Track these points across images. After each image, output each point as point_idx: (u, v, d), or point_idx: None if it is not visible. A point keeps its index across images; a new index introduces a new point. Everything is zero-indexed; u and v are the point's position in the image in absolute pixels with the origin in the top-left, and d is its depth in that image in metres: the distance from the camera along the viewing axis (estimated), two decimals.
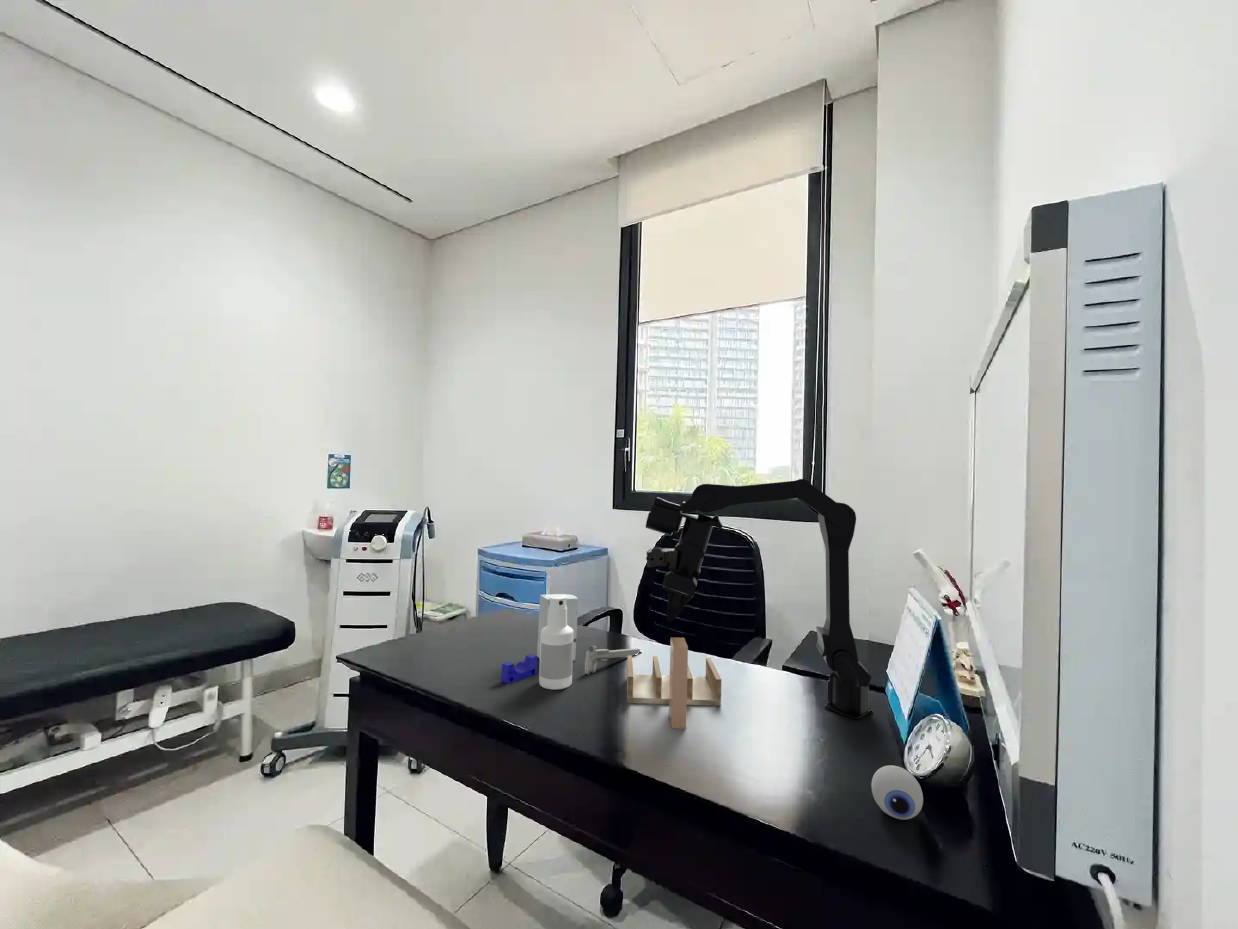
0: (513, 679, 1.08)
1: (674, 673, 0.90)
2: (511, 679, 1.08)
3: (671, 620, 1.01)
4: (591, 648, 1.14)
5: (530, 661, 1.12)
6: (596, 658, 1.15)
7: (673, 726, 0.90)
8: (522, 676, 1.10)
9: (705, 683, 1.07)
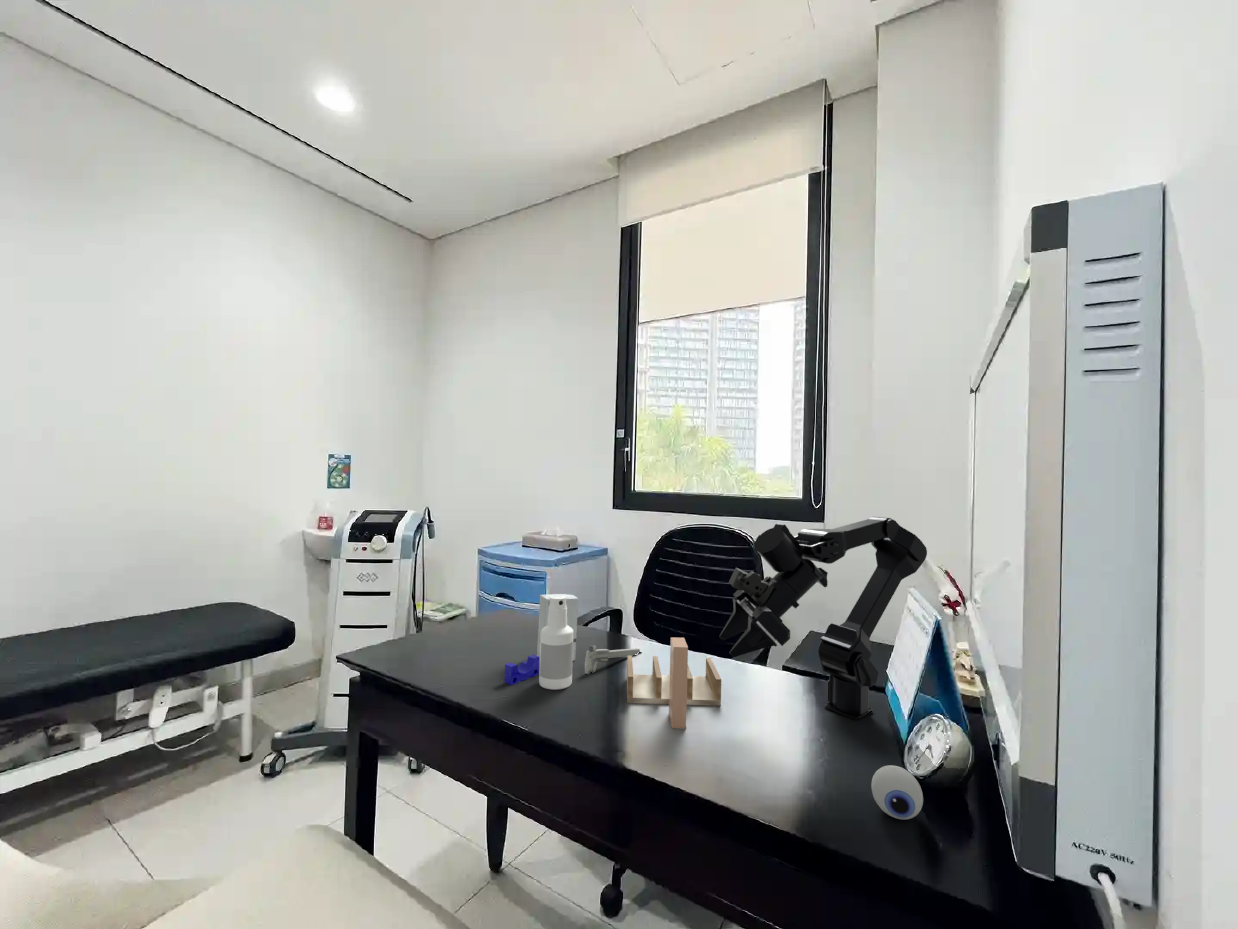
0: (516, 680, 1.08)
1: (674, 673, 0.90)
2: (514, 680, 1.08)
3: (734, 655, 0.88)
4: (591, 648, 1.14)
5: (533, 661, 1.12)
6: (596, 658, 1.15)
7: (673, 726, 0.90)
8: (525, 677, 1.10)
9: (705, 683, 1.07)
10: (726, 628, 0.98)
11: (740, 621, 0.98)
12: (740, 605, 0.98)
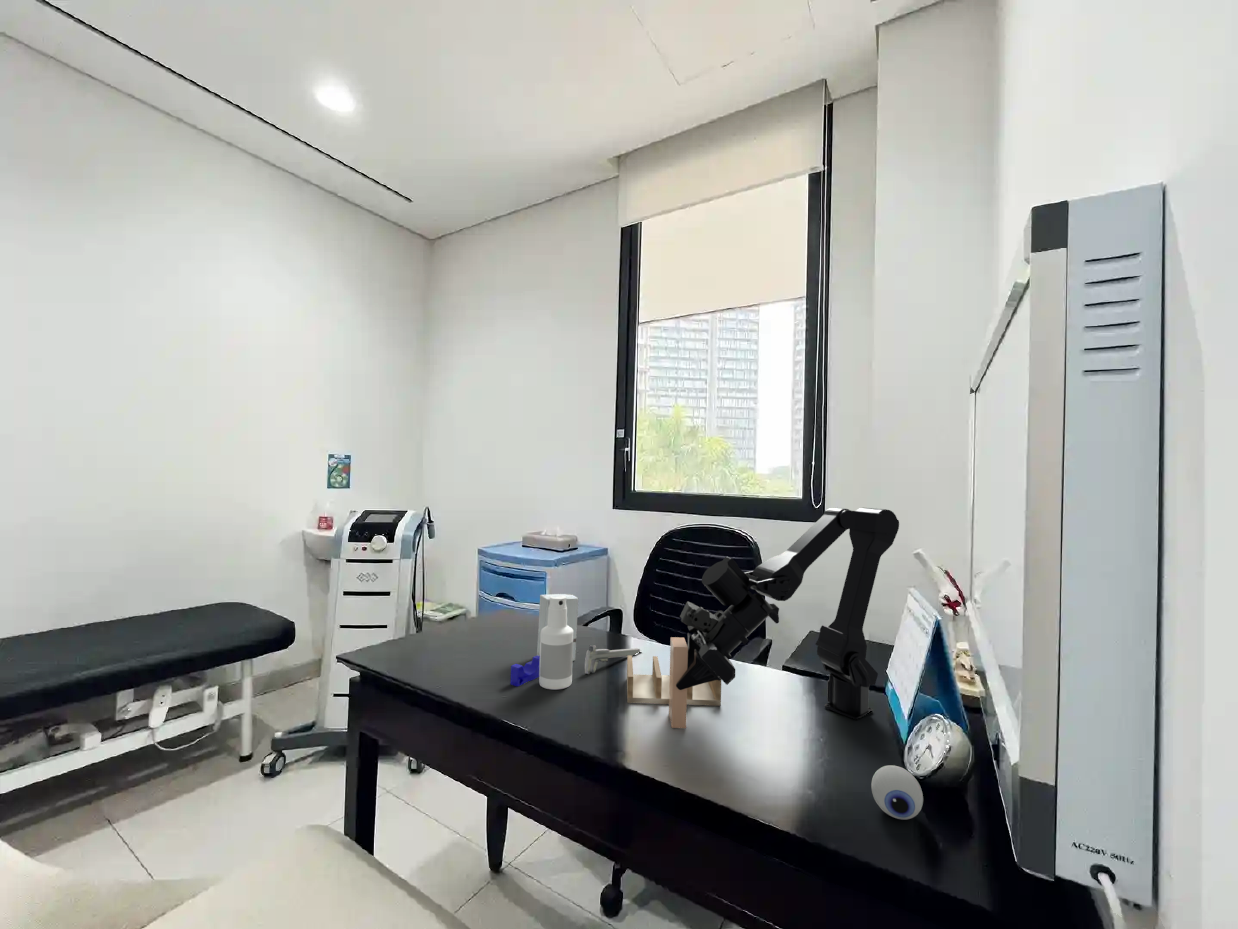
0: (522, 681, 1.07)
1: (674, 673, 0.90)
2: (520, 681, 1.07)
3: (680, 688, 0.90)
4: (591, 648, 1.14)
5: (538, 662, 1.11)
6: (596, 658, 1.15)
7: (673, 726, 0.90)
8: (530, 678, 1.09)
9: (705, 683, 1.07)
10: None
11: (694, 657, 0.96)
12: (694, 641, 0.97)
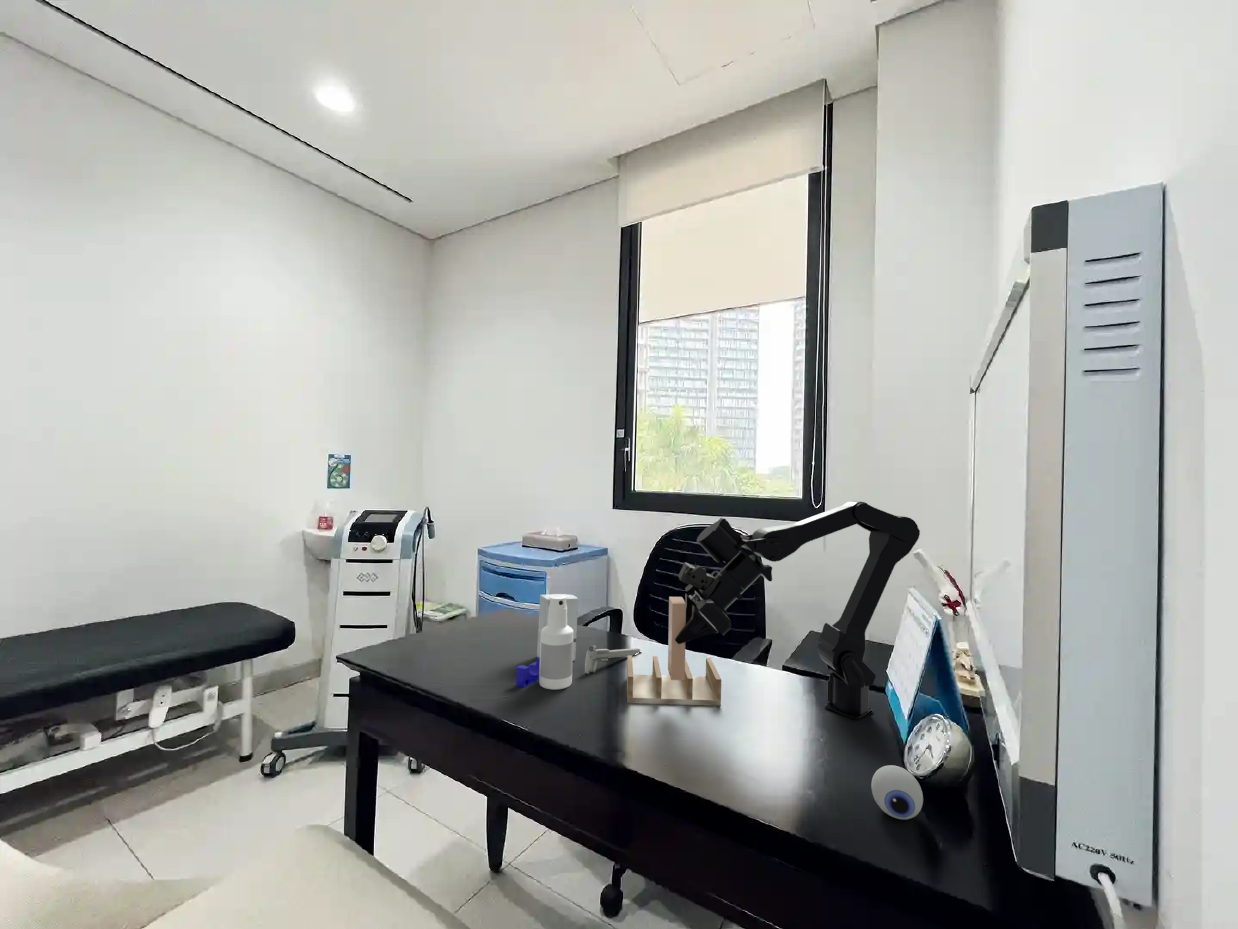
0: (528, 682, 1.07)
1: (673, 628, 0.95)
2: (526, 682, 1.07)
3: (679, 642, 0.95)
4: (591, 648, 1.14)
5: None
6: (596, 658, 1.15)
7: (672, 678, 0.95)
8: (536, 679, 1.09)
9: (705, 683, 1.07)
10: None
11: (691, 616, 1.01)
12: (691, 600, 1.02)
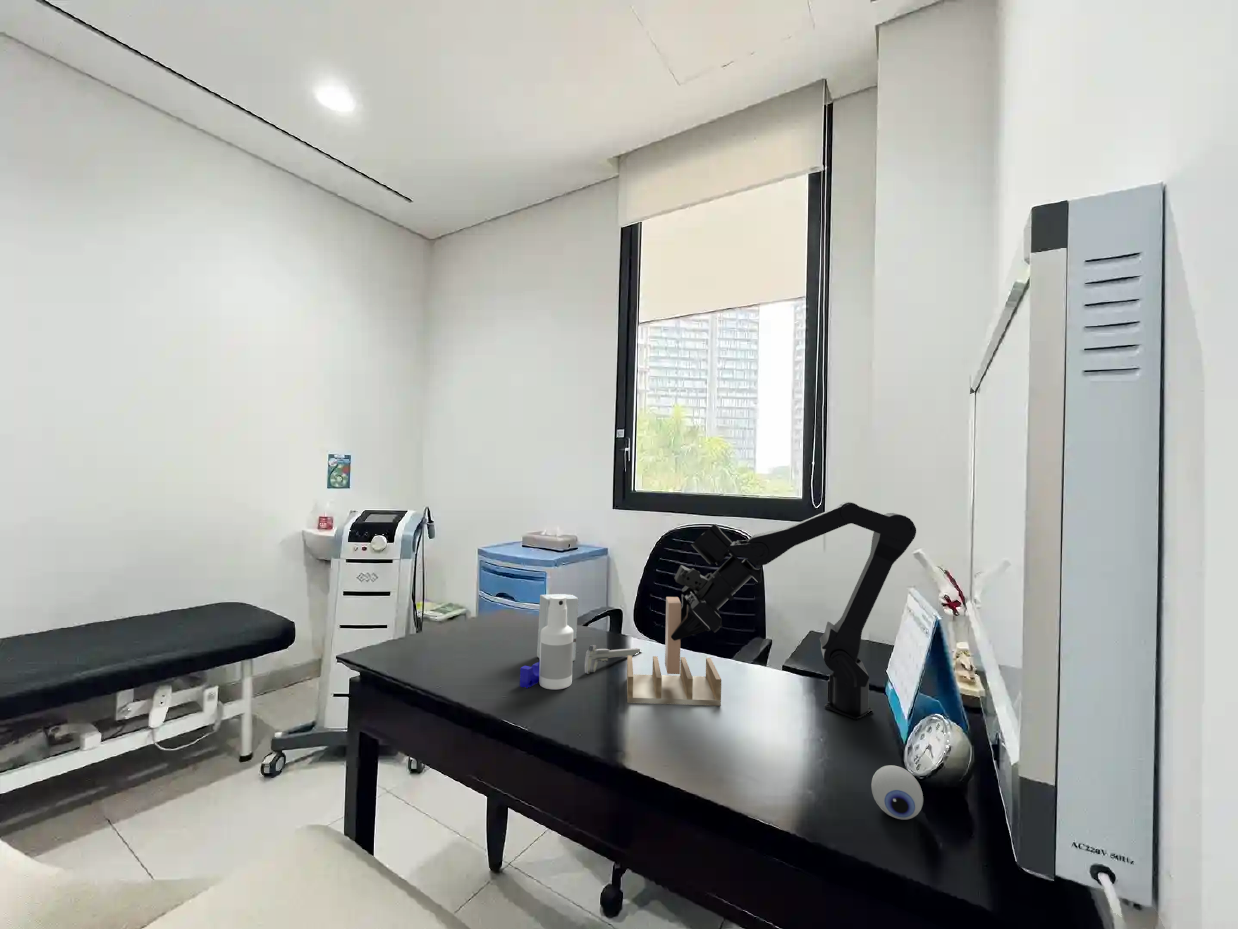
0: (532, 683, 1.06)
1: (669, 626, 1.03)
2: (530, 683, 1.06)
3: (675, 639, 1.02)
4: (591, 647, 1.14)
5: None
6: (596, 658, 1.15)
7: (668, 672, 1.03)
8: None
9: (705, 683, 1.07)
10: None
11: (687, 615, 1.09)
12: (687, 600, 1.09)
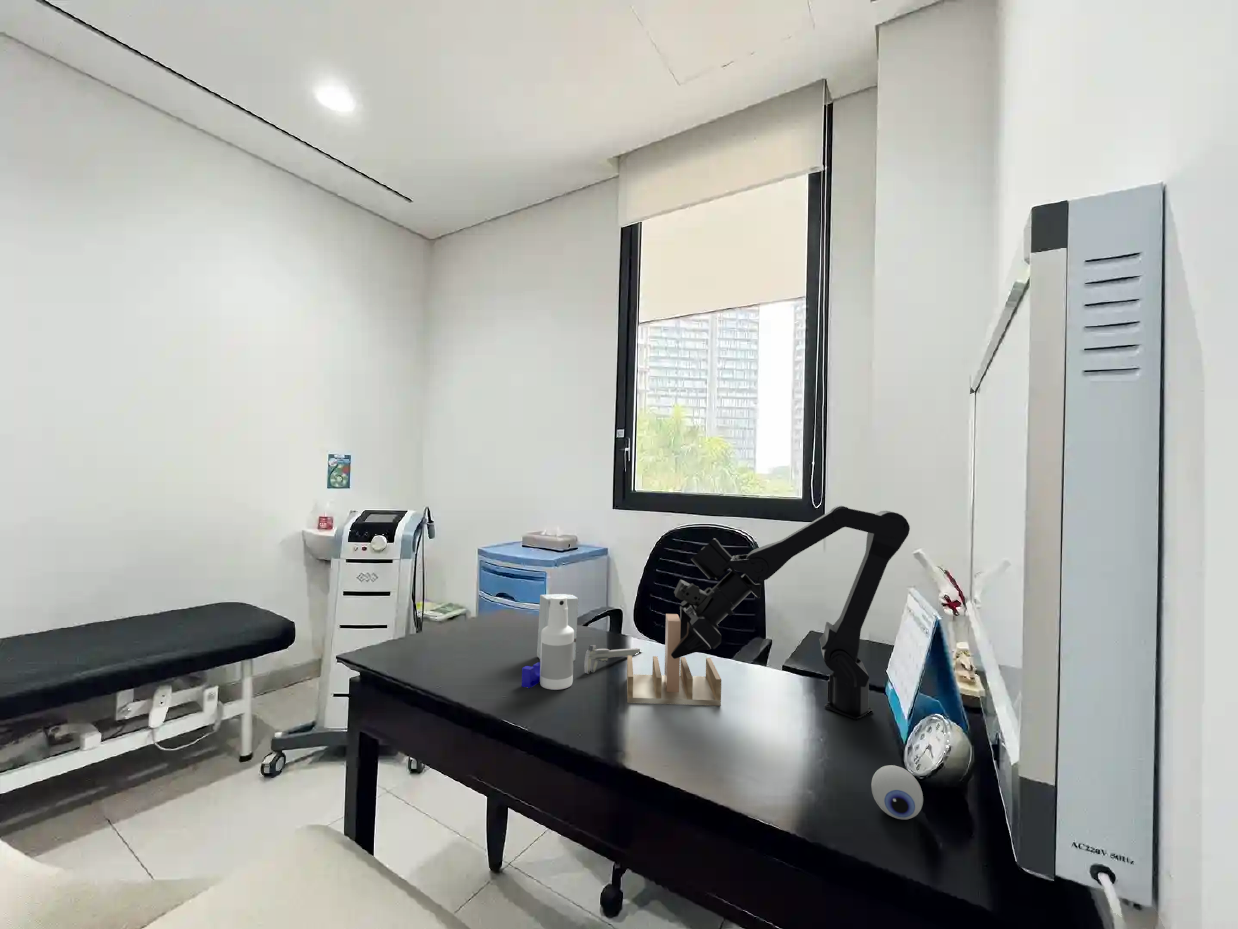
0: (533, 683, 1.06)
1: (668, 644, 1.03)
2: (531, 683, 1.06)
3: (675, 657, 1.01)
4: (591, 647, 1.15)
5: None
6: (596, 657, 1.15)
7: (668, 690, 1.03)
8: None
9: (705, 683, 1.07)
10: None
11: (685, 627, 1.11)
12: (685, 612, 1.11)
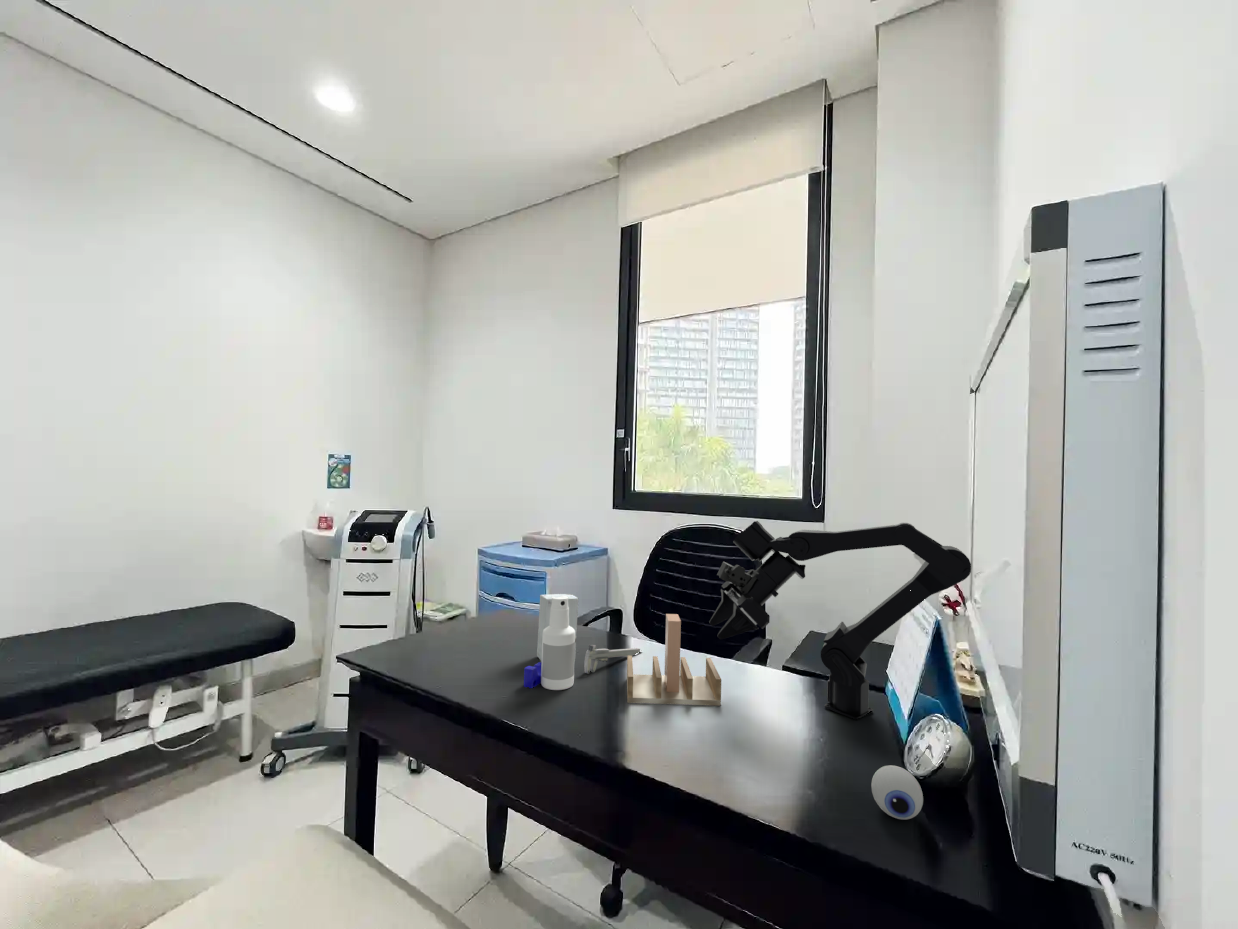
0: (536, 683, 1.06)
1: (669, 644, 1.03)
2: (533, 683, 1.06)
3: (721, 638, 1.01)
4: (591, 647, 1.15)
5: None
6: (596, 657, 1.15)
7: (668, 690, 1.03)
8: None
9: (705, 683, 1.07)
10: (715, 615, 1.10)
11: (727, 609, 1.11)
12: (727, 595, 1.11)
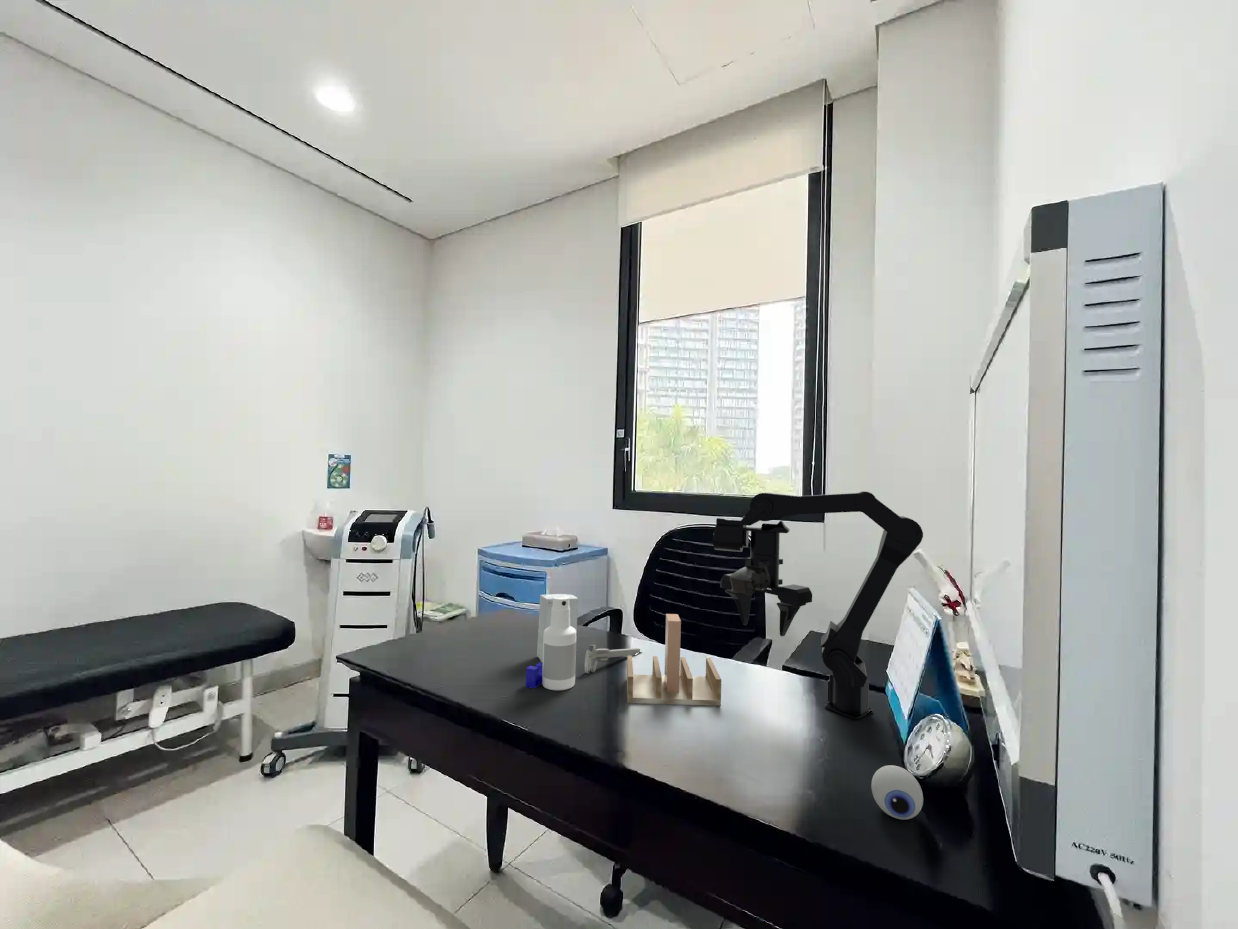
0: (538, 683, 1.06)
1: (669, 644, 1.03)
2: (535, 683, 1.06)
3: (784, 634, 1.02)
4: (591, 647, 1.15)
5: None
6: (596, 657, 1.16)
7: (668, 690, 1.03)
8: None
9: (705, 683, 1.07)
10: (743, 615, 1.09)
11: (745, 601, 1.10)
12: (738, 592, 1.09)
